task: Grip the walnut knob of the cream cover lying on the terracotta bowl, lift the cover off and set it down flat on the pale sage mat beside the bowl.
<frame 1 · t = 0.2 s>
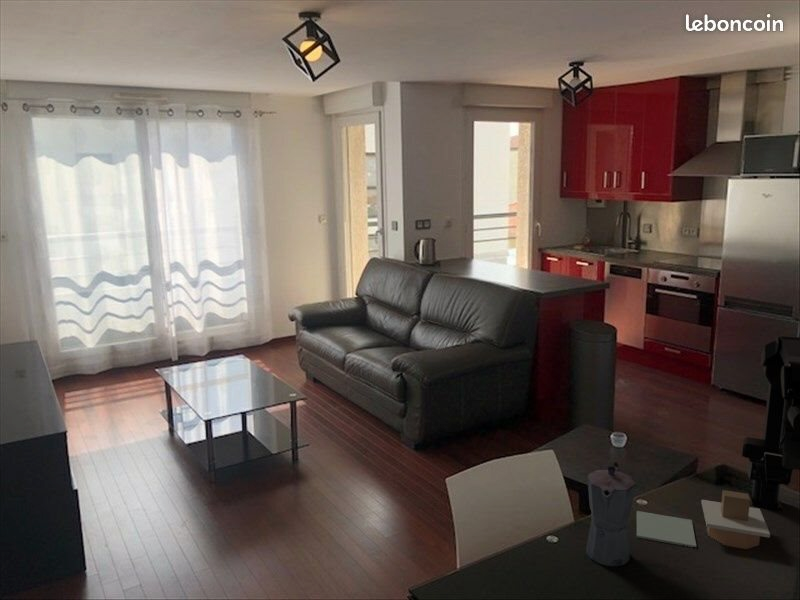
hand: (790, 494, 129), 14 cm above the table, tool pointing down, fingers open, 9 cm apart
bowl: (732, 536, 140), on the table
moka pot: (606, 554, 133), on the table
cover: (733, 519, 140), point 4 cm above the table, touching bowl
mat: (664, 529, 143), on the table
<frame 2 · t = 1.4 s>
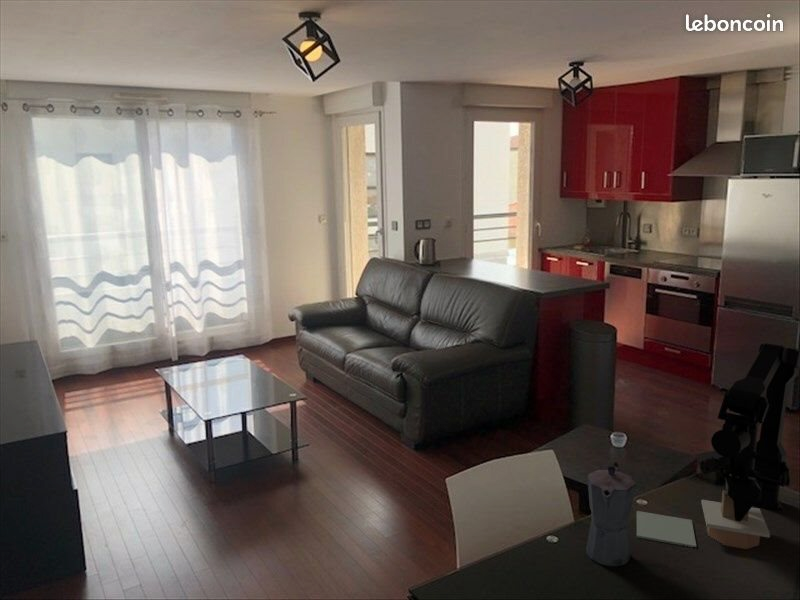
hand: (734, 511, 139), 6 cm above the table, tool pointing down, fingers open, 9 cm apart
nothing on the table moved.
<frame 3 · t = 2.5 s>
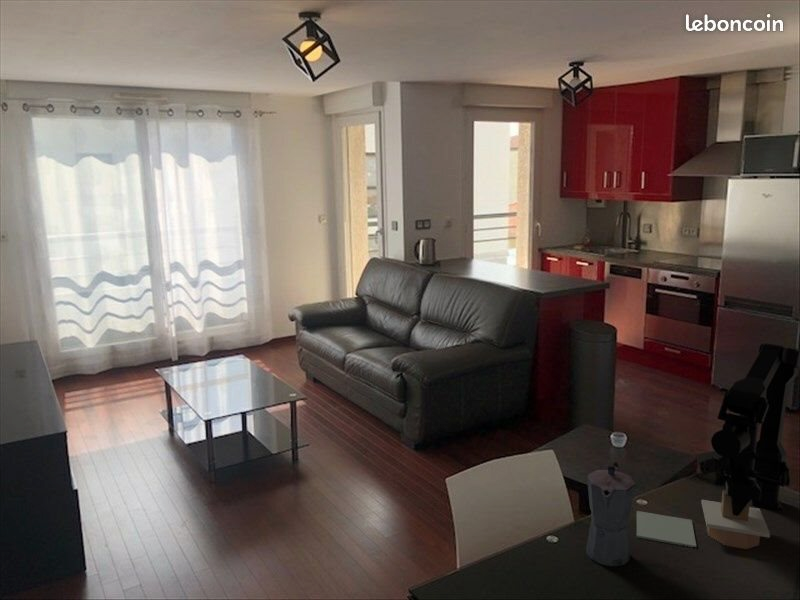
hand: (734, 511, 139), 6 cm above the table, tool pointing down, fingers closed on cover, 3 cm apart
cover: (733, 519, 140), point 4 cm above the table, touching bowl, gripper
everything else where it was.
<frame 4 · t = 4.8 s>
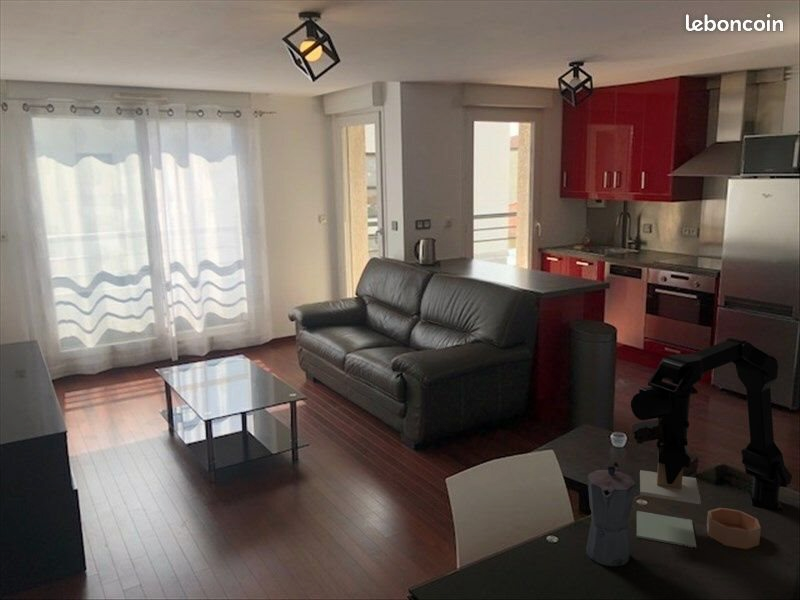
hand: (669, 480, 141), 12 cm above the table, tool pointing down, fingers closed on cover, 3 cm apart
cover: (668, 488, 141), point 10 cm above the table, touching gripper
everything else where it was.
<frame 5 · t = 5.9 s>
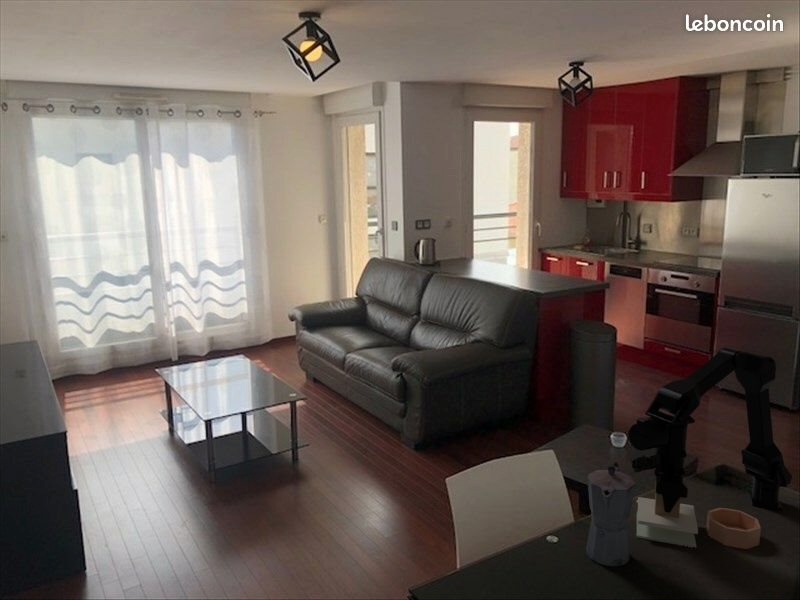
hand: (666, 508, 142), 5 cm above the table, tool pointing down, fingers closed on cover, 3 cm apart
cover: (666, 516, 142), point 3 cm above the table, touching gripper
everything else where it was.
when the fingers open (4 cm above the table, at t = 6.9 s): cover drops 1 cm, resting on mat.
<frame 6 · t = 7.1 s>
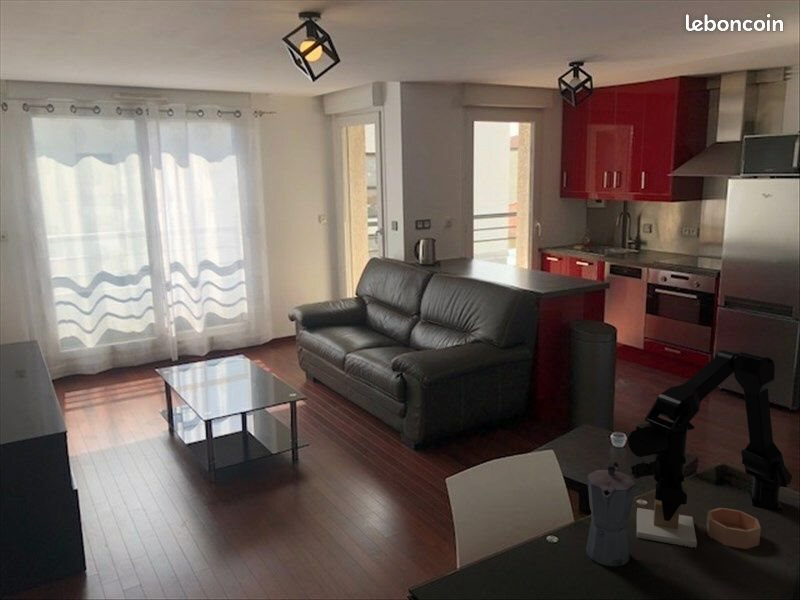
hand: (666, 514, 142), 4 cm above the table, tool pointing down, fingers open, 5 cm apart
cover: (665, 527, 143), resting on mat
everything else where it was.
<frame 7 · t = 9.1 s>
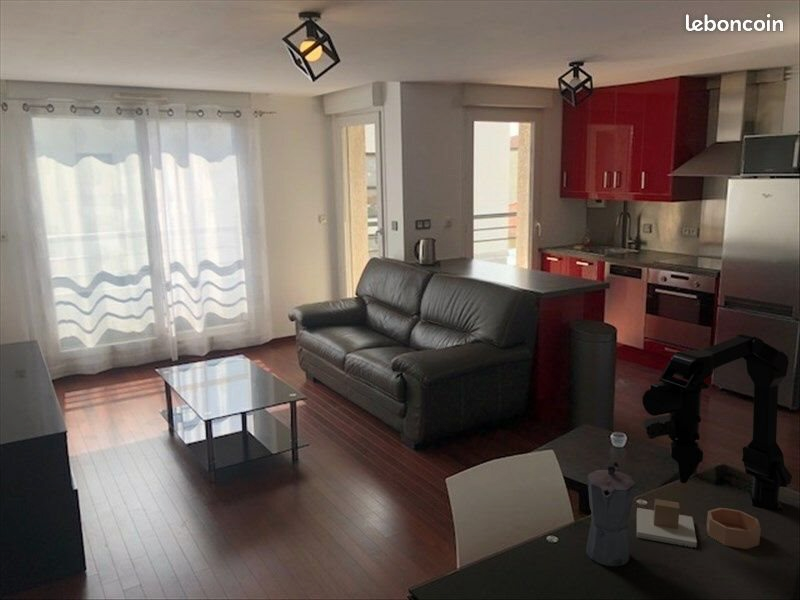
hand: (681, 474, 143), 12 cm above the table, tool pointing down, fingers open, 9 cm apart
nothing on the table moved.
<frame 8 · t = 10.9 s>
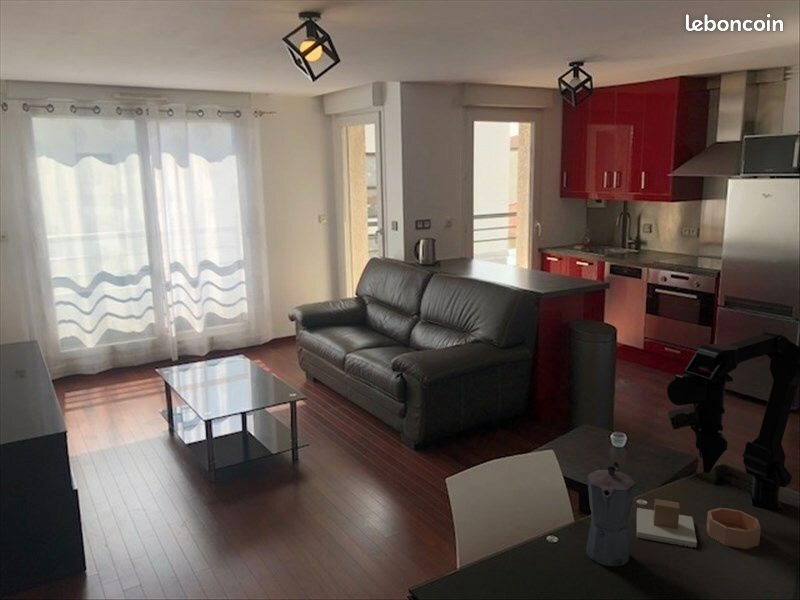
hand: (704, 464, 147), 13 cm above the table, tool pointing down, fingers open, 9 cm apart
nothing on the table moved.
at the end: cover 0.0 cm off-centre on the mat, point 0.5 cm above the mat's base; cover touching mat; the gripper is holding nothing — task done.
